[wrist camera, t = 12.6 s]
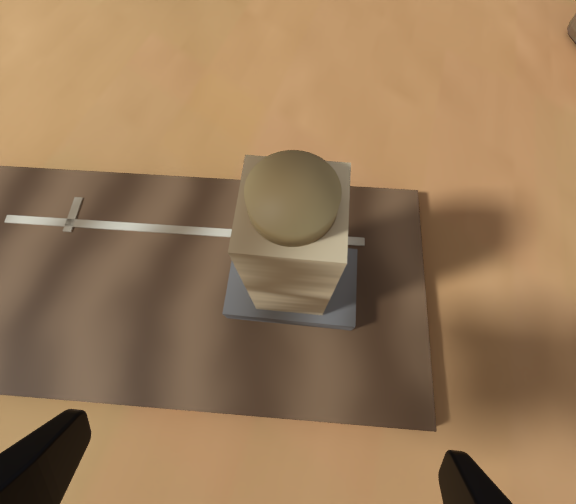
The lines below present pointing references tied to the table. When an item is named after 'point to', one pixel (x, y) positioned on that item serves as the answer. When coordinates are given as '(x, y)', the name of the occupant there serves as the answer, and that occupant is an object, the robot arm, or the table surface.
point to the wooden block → (572, 28)
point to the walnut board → (199, 304)
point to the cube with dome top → (292, 243)
